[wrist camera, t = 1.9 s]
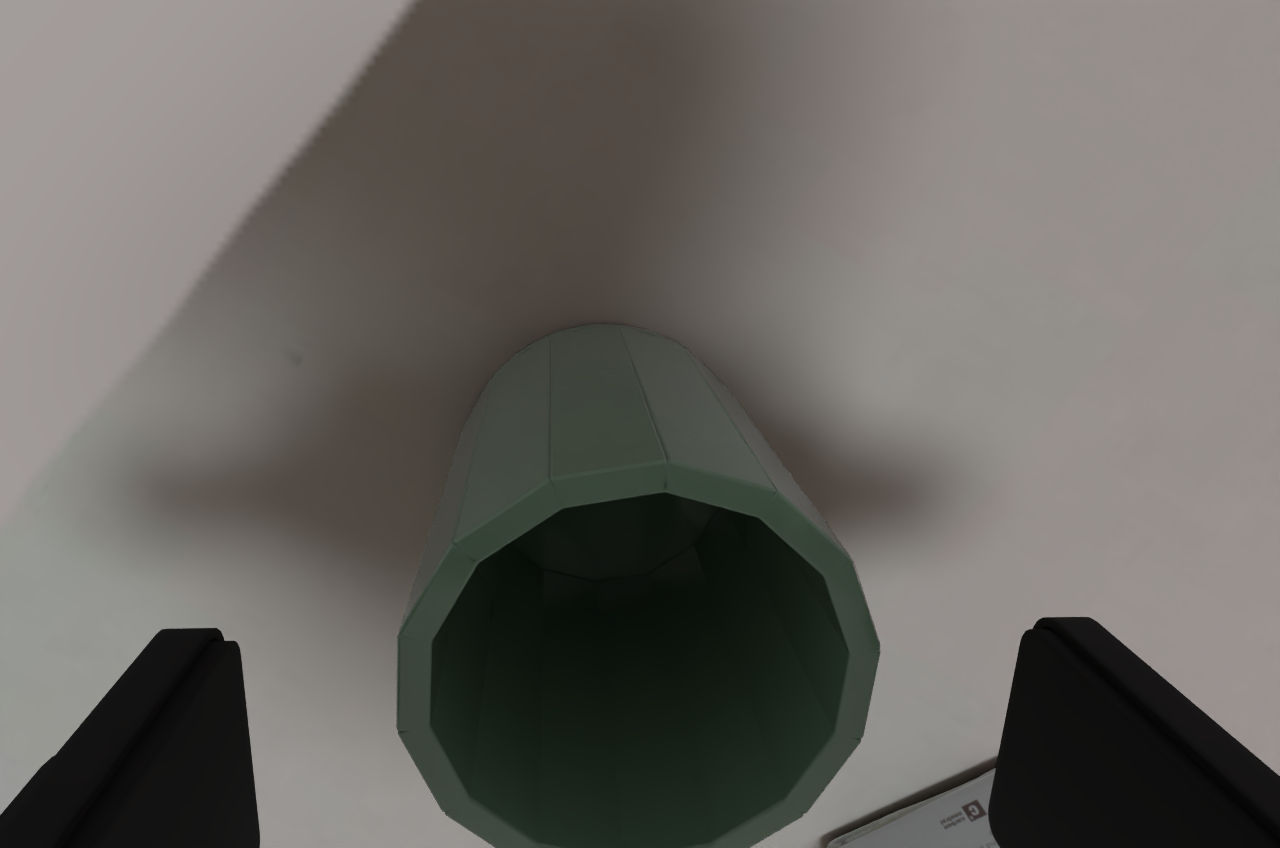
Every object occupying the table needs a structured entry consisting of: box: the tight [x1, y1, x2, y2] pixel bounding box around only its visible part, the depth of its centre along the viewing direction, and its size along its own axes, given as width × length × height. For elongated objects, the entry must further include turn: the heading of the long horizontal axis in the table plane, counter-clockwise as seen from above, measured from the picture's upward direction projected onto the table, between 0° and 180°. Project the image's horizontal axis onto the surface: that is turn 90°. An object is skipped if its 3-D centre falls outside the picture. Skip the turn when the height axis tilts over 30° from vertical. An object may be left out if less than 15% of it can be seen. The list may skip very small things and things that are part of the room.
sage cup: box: [396, 324, 880, 848], centre depth 14 cm, size 6×6×8 cm
